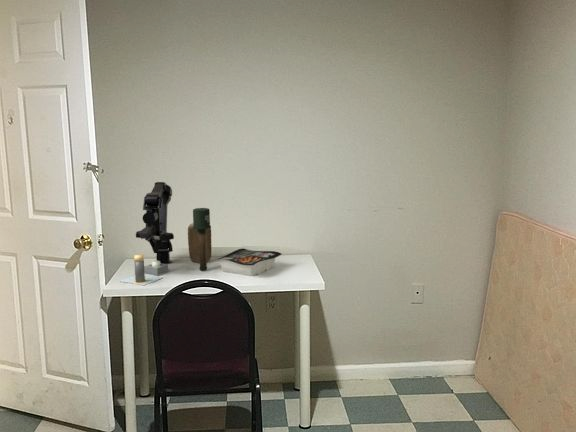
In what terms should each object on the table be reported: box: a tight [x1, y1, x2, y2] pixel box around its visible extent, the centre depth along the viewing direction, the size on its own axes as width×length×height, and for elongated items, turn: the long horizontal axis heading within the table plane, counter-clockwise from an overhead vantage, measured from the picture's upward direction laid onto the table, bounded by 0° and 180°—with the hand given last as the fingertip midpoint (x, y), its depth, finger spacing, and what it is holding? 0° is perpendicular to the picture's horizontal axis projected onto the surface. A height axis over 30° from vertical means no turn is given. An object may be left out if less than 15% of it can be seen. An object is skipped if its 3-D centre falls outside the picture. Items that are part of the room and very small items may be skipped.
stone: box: [187, 222, 212, 263], centre depth 304 cm, size 12×7×20 cm, turn 99°
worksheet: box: [119, 274, 163, 287], centre depth 274 cm, size 13×14×1 cm
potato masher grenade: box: [192, 207, 212, 272], centre depth 287 cm, size 8×9×30 cm
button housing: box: [144, 263, 169, 277], centre depth 286 cm, size 8×8×4 cm
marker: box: [133, 253, 146, 283], centre depth 269 cm, size 4×4×12 cm
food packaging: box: [217, 248, 282, 277], centre depth 289 cm, size 25×8×23 cm
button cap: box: [151, 260, 160, 267], centre depth 286 cm, size 4×4×5 cm
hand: (155, 253), depth 284 cm, fingers closed
